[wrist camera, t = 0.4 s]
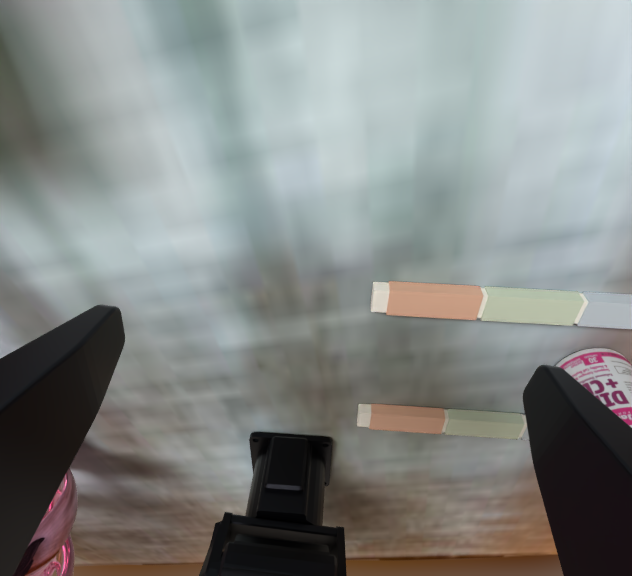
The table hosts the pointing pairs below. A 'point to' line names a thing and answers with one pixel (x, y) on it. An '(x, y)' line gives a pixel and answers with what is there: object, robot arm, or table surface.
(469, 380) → the table surface
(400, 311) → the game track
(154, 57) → the table surface
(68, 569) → the pink openwork sphere
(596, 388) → the pill bottle
